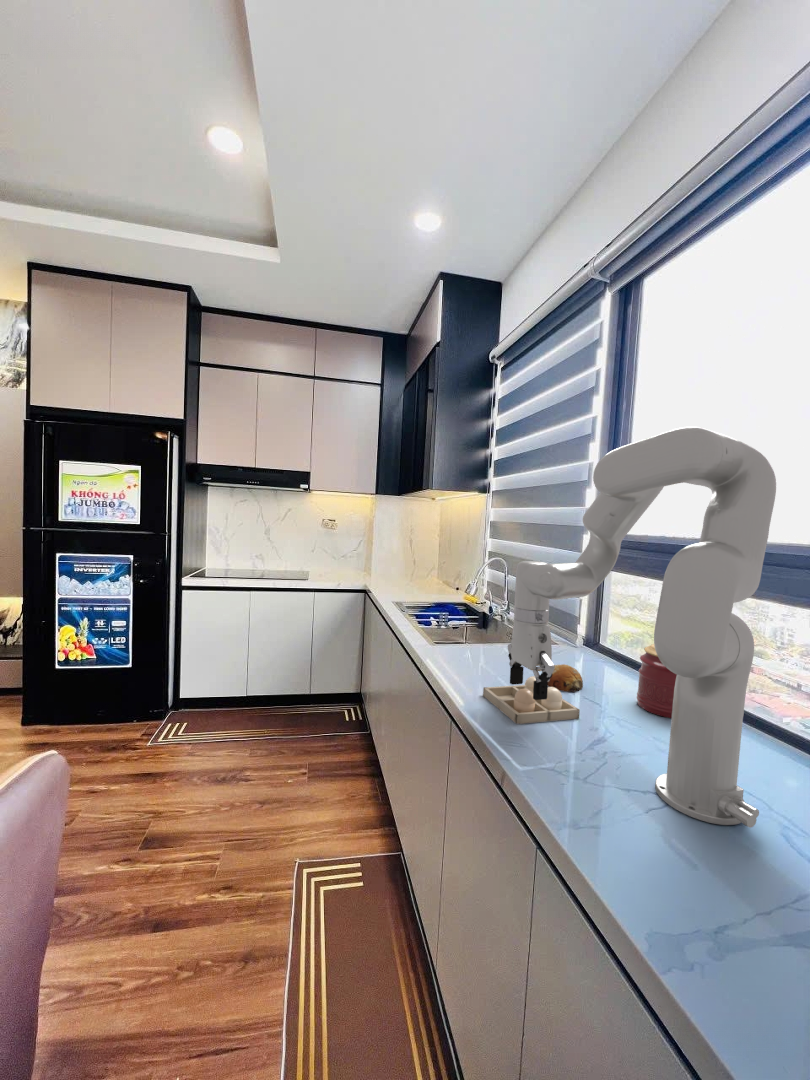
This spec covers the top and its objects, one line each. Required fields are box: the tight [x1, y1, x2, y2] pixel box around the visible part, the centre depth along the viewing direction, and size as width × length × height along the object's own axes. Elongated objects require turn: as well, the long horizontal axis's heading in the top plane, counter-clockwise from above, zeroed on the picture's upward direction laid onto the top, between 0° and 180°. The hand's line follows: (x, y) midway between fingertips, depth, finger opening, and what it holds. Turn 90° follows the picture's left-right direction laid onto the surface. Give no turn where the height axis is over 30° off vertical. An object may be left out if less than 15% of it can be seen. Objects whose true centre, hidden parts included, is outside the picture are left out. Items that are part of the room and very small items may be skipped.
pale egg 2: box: [541, 686, 563, 710], centre depth 107 cm, size 5×5×6 cm
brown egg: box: [514, 689, 535, 713], centre depth 104 cm, size 5×5×6 cm
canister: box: [636, 643, 677, 719], centre depth 113 cm, size 13×13×18 cm
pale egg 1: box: [524, 675, 536, 693], centre depth 113 cm, size 5×5×6 cm
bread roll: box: [548, 663, 584, 693], centre depth 125 cm, size 10×10×8 cm
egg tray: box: [482, 684, 581, 725], centre depth 109 cm, size 16×16×3 cm
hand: (527, 691), depth 104 cm, fingers open, 9 cm apart
